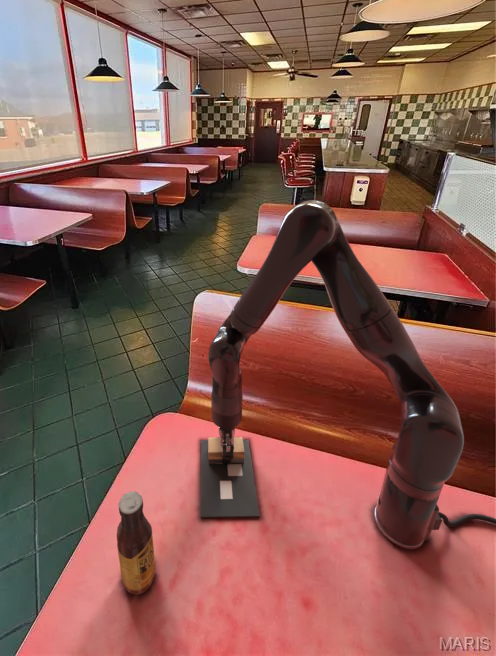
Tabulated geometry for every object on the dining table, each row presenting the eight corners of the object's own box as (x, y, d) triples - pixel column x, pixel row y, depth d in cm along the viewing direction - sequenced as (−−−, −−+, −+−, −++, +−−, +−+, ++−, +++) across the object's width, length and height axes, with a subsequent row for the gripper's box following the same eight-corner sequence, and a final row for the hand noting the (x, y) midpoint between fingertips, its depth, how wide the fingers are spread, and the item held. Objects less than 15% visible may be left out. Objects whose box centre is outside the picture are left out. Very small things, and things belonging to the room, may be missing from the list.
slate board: (248, 440, 91) (248, 439, 91) (259, 517, 72) (259, 516, 72) (201, 441, 91) (201, 440, 91) (200, 518, 72) (200, 516, 72)
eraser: (241, 447, 88) (242, 436, 87) (243, 463, 84) (244, 451, 82) (208, 448, 88) (208, 437, 86) (208, 463, 84) (208, 452, 82)
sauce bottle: (149, 600, 59) (139, 529, 52) (116, 592, 60) (103, 521, 53) (160, 558, 65) (154, 489, 58) (131, 551, 66) (121, 483, 59)
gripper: (245, 426, 73) (243, 480, 79) (239, 382, 86) (237, 431, 92) (212, 427, 73) (212, 480, 79) (210, 383, 86) (210, 432, 92)
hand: (225, 453), depth 86 cm, fingers closed on eraser, 4 cm apart
